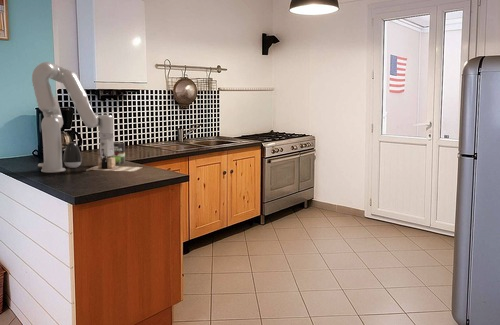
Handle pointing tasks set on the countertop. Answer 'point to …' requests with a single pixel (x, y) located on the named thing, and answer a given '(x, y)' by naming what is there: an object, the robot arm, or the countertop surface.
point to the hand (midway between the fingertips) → (106, 167)
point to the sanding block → (109, 163)
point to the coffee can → (119, 153)
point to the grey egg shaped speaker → (72, 155)
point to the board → (117, 168)
